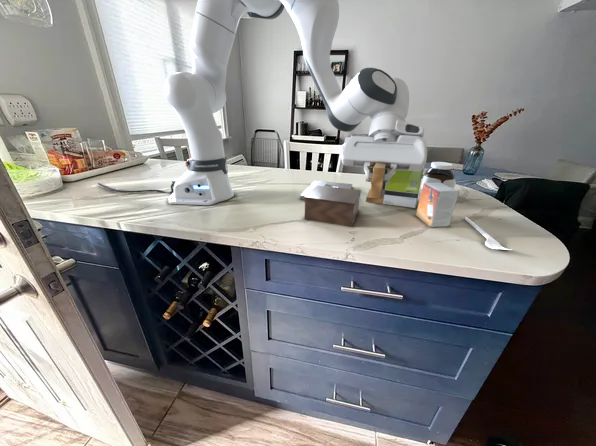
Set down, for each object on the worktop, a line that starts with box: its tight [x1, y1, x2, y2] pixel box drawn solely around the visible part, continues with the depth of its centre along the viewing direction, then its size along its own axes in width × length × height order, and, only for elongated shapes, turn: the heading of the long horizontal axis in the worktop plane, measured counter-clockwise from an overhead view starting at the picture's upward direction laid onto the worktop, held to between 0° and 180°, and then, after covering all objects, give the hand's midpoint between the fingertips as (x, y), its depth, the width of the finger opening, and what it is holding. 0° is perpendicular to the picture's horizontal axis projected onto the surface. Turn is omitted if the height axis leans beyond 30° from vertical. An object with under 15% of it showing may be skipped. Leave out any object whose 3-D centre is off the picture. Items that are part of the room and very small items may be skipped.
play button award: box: [300, 180, 353, 201], centre depth 94 cm, size 16×2×20 cm
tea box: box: [372, 168, 425, 209], centre depth 83 cm, size 15×10×15 cm, turn 65°
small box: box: [415, 183, 460, 228], centre depth 69 cm, size 8×6×10 cm
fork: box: [463, 216, 514, 251], centre depth 63 cm, size 3×20×2 cm, turn 170°
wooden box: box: [304, 185, 362, 227], centre depth 74 cm, size 14×12×7 cm
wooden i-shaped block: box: [365, 162, 386, 205], centre depth 60 cm, size 4×7×9 cm, turn 159°
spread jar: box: [421, 161, 457, 189], centre depth 92 cm, size 12×11×12 cm
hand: (377, 181), depth 60 cm, fingers closed on wooden i-shaped block, 3 cm apart
